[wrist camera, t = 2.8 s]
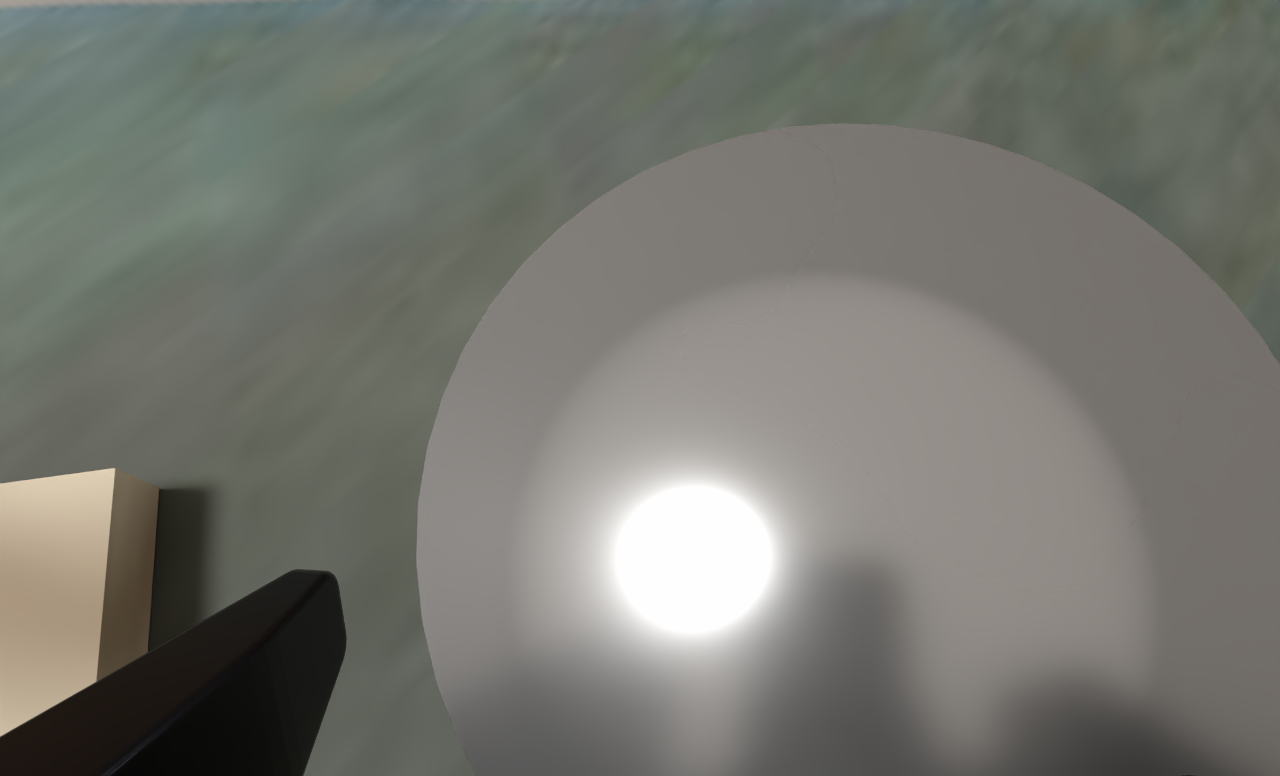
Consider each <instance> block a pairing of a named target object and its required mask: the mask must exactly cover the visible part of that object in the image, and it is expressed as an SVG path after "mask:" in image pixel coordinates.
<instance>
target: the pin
mask: <svg viewBox="0 0 1280 776" xmlns="http://www.w3.org/2000/svg"><path fill="white" fill-rule="evenodd" d="M416 564H417V574H418V584H419V594H420V603H421V613H422V623H423V627H424V631H425V635H426V640H427V644H428V648H429V652H430V657H431V661H432V665H433V669H434V673H435V678H436V682H437V685H438V688H439V690H440V693H441V696H442V698H443V701H444V703H445V706H446V709H447V711H448V714H449V717H450V719H451V722H452V724H453V727H454V730H455V732H456V735H457V737H458V740H459V743H460V745H461V747H462V749H463V750H464V752H465V754H466V756H467V758H468V760H469V762H470V763H471V765H472V767H473V769H474V771H475V773H476V774H477V776H1280V365H1279V363H1278V362H1277V360H1276V359H1275V357H1274V356H1273V354H1272V353H1271V351H1270V349H1269V348H1268V346H1267V345H1266V343H1265V342H1264V340H1263V339H1262V337H1261V336H1260V334H1259V333H1258V332H1257V331H1256V330H1255V328H1254V327H1253V326H1252V325H1251V323H1250V322H1249V321H1248V320H1247V319H1246V317H1245V316H1244V315H1243V314H1242V313H1241V311H1240V310H1239V309H1238V308H1237V307H1236V305H1235V304H1234V303H1233V302H1232V301H1231V299H1230V298H1229V297H1228V296H1227V295H1226V293H1225V292H1224V291H1223V290H1222V289H1221V288H1220V287H1219V286H1218V285H1217V284H1216V283H1215V282H1214V281H1213V280H1212V279H1211V278H1210V277H1209V276H1208V275H1207V274H1206V273H1205V272H1204V271H1203V270H1202V269H1201V268H1199V267H1198V266H1197V265H1196V264H1195V263H1194V262H1193V261H1192V260H1191V259H1190V258H1189V257H1188V256H1187V255H1186V254H1185V253H1184V252H1183V251H1182V250H1181V249H1179V248H1178V247H1177V246H1176V245H1174V244H1173V243H1172V242H1170V241H1169V240H1168V239H1167V238H1165V237H1164V236H1163V235H1161V234H1160V233H1159V232H1158V231H1156V230H1155V229H1154V228H1152V227H1151V226H1150V225H1148V224H1147V223H1146V222H1145V221H1143V220H1142V219H1141V218H1139V217H1138V216H1137V215H1135V214H1134V213H1132V212H1131V211H1129V210H1127V209H1126V208H1124V207H1122V206H1121V205H1119V204H1118V203H1116V202H1114V201H1113V200H1111V199H1109V198H1108V197H1106V196H1105V195H1103V194H1101V193H1100V192H1098V191H1097V190H1095V189H1093V188H1092V187H1090V186H1088V185H1086V184H1084V183H1082V182H1080V181H1078V180H1076V179H1074V178H1072V177H1069V176H1067V175H1065V174H1063V173H1061V172H1059V171H1057V170H1055V169H1053V168H1051V167H1049V166H1047V165H1044V164H1042V163H1040V162H1038V161H1035V160H1032V159H1029V158H1027V157H1024V156H1021V155H1018V154H1015V153H1013V152H1010V151H1007V150H1004V149H1001V148H999V147H996V146H993V145H990V144H987V143H982V142H978V141H974V140H970V139H966V138H962V137H958V136H954V135H949V134H945V133H941V132H937V131H929V130H922V129H914V128H907V127H899V126H892V125H876V124H838V123H834V124H821V125H809V126H797V127H785V128H779V129H774V130H769V131H764V132H759V133H753V134H748V135H743V136H738V137H734V138H730V139H727V140H724V141H721V142H718V143H714V144H711V145H708V146H705V147H702V148H698V149H695V150H692V151H689V152H686V153H684V154H682V155H679V156H677V157H675V158H673V159H670V160H668V161H666V162H663V163H661V164H659V165H657V166H654V167H652V168H650V169H648V170H645V171H643V172H641V173H639V174H638V175H636V176H634V177H633V178H631V179H629V180H628V181H626V182H624V183H623V184H621V185H619V186H617V187H616V188H614V189H612V190H611V191H609V192H607V193H606V194H604V195H602V196H601V197H599V198H598V199H596V200H595V201H594V202H592V203H591V204H590V205H588V206H587V207H586V208H584V209H583V210H582V211H581V212H579V213H578V214H577V215H575V216H574V217H573V218H571V219H570V220H569V221H567V222H566V223H565V224H564V225H562V226H561V227H560V228H559V229H557V230H556V231H555V232H554V233H553V234H552V235H551V236H550V237H549V238H548V239H547V240H546V241H545V242H544V243H543V244H542V245H541V246H540V247H539V248H538V249H537V250H536V251H535V252H534V253H533V254H532V255H531V256H530V257H529V258H528V259H527V260H526V261H525V262H524V263H523V264H522V265H521V266H520V268H519V269H518V270H517V271H516V273H515V274H514V275H513V277H512V278H511V279H510V280H509V282H508V283H507V284H506V285H505V287H504V288H503V289H502V290H501V292H500V293H499V294H498V295H497V297H496V298H495V299H494V300H493V302H492V303H491V304H490V306H489V308H488V309H487V311H486V313H485V314H484V316H483V318H482V319H481V321H480V323H479V324H478V326H477V327H476V329H475V331H474V332H473V334H472V336H471V337H470V339H469V341H468V342H467V344H466V346H465V347H464V349H463V352H462V354H461V356H460V358H459V361H458V363H457V365H456V367H455V370H454V372H453V374H452V376H451V379H450V381H449V383H448V385H447V388H446V390H445V392H444V394H443V397H442V400H441V403H440V407H439V410H438V413H437V417H436V420H435V424H434V427H433V430H432V434H431V437H430V440H429V444H428V447H427V452H426V458H425V464H424V470H423V477H422V483H421V489H420V495H419V502H418V523H417V557H416Z"/></svg>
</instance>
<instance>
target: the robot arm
mask: <svg viewBox="0 0 1280 776" xmlns="http://www.w3.org/2000/svg"><path fill="white" fill-rule="evenodd" d="M345 651H346V629H345V623H344V617H343V610H342V604H341V598H340V591H339V585H338V582H337V579H336V577H335V575H333V574H332V573H331V572H329V571H320V570H304V569H296V570H292V571H290V572H288V573H286V574H284V575H282V576H281V577H279V578H277V579H275V580H274V581H272V582H270V583H268V584H266V585H265V586H263V587H261V588H259V589H258V590H256V591H254V592H252V593H251V594H249V595H247V596H245V597H244V598H242V599H240V600H238V601H237V602H235V603H233V604H231V605H230V606H228V607H226V608H224V609H223V610H221V611H219V612H217V613H216V614H214V615H212V616H210V617H209V618H207V619H205V620H203V621H202V622H200V623H198V624H196V625H195V626H193V627H191V628H189V629H188V630H186V631H184V632H182V633H181V634H179V635H177V636H175V637H174V638H172V639H170V640H168V641H167V642H165V643H163V644H161V645H160V646H158V647H156V648H154V649H153V650H151V651H149V652H147V653H146V654H144V655H142V656H140V657H139V658H137V659H135V660H133V661H132V662H130V663H128V664H126V665H125V666H123V667H121V668H119V669H118V670H116V671H114V672H112V673H111V674H109V675H107V676H105V677H104V678H102V679H100V680H98V681H97V682H95V683H93V684H91V685H90V686H88V687H86V688H84V689H83V690H81V691H79V692H77V693H76V694H74V695H72V696H70V697H69V698H67V699H65V700H63V701H62V702H60V703H58V704H56V705H55V706H53V707H51V708H49V709H48V710H46V711H44V712H42V713H40V714H39V715H37V716H35V717H33V718H32V719H30V720H28V721H26V722H25V723H23V724H21V725H19V726H18V727H16V728H14V729H12V730H11V731H9V732H7V733H5V734H4V735H2V736H0V776H303V775H304V772H305V769H306V766H307V763H308V760H309V758H310V755H311V752H312V749H313V746H314V743H315V740H316V737H317V734H318V732H319V729H320V726H321V723H322V720H323V717H324V714H325V711H326V709H327V706H328V703H329V700H330V697H331V694H332V691H333V688H334V685H335V683H336V680H337V677H338V674H339V671H340V668H341V665H342V662H343V659H344V655H345Z"/></svg>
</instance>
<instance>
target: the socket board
mask: <svg viewBox="0 0 1280 776" xmlns="http://www.w3.org/2000/svg"><path fill="white" fill-rule="evenodd" d="M158 497H159V488H157V487H155V486H153V485H151V484H149V483H147V482H144V481H142V480H140V479H138V478H136V477H133V476H131V475H129V474H127V473H125V472H123V471H120V470H118V469H116V468H112V469H105V470H98V471H90V472H83V473H76V474H68V475H61V476H54V477H46V478H39V479H32V480H24V481H17V482H10V483H2V484H0V736H2V735H4V734H5V733H7V732H9V731H11V730H12V729H14V728H16V727H18V726H19V725H21V724H23V723H25V722H26V721H28V720H30V719H32V718H33V717H35V716H37V715H39V714H40V713H42V712H44V711H46V710H48V709H49V708H51V707H53V706H55V705H56V704H58V703H60V702H62V701H63V700H65V699H67V698H69V697H70V696H72V695H74V694H76V693H77V692H79V691H81V690H83V689H84V688H86V687H88V686H90V685H91V684H93V683H95V682H97V681H98V680H100V679H102V678H104V677H105V676H107V675H109V674H111V673H112V672H114V671H116V670H118V669H119V668H121V667H123V666H125V665H126V664H128V663H130V662H132V661H133V660H135V659H137V658H139V657H140V656H142V655H144V654H146V653H147V652H148V641H149V626H150V612H151V598H152V583H153V569H154V555H155V540H156V526H157V512H158Z"/></svg>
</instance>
